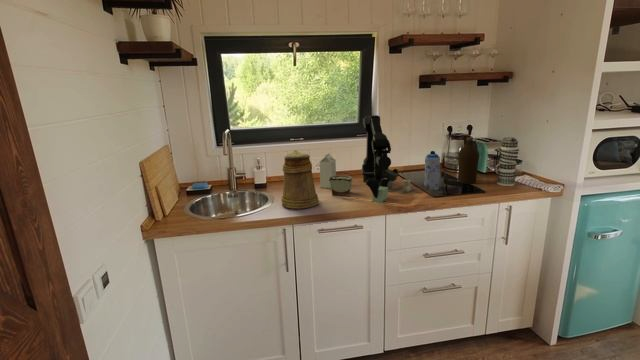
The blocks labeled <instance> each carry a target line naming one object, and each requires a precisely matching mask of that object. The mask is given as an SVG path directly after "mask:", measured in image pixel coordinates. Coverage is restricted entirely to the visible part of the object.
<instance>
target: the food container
mask: <svg viewBox="0 0 640 360" xmlns="http://www.w3.org/2000/svg"><path fill="white" fill-rule="evenodd" d="M329 181H330V184H331V188H330V191H331V196H332V197H340V198H341V197H342V198H351V186H352V182H353V179H352V176H350V175H345V174H342V175H341V174H336V176H331V177H330V178H329Z"/></svg>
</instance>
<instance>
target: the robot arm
mask: <svg viewBox="0 0 640 360" xmlns="http://www.w3.org/2000/svg"><path fill="white" fill-rule="evenodd" d="M362 124H363V125H362V126H363V127H364V129H365V130H366V151H365V152H366V153H365V154H366V155H365V158H364V159H363V164H362V165H361V175H362V176H363V177H362V178H363V180H362V181H363V183H365V185H366V186H368V188H369V189H370V191H371V193H373V195H374V197H375V198H377V197H378V190H379V187H380V186H381V187H387V185H388V182H389V181H392V182H395V181H397V179H398V177H399V176H400V173H399V169H398V168H394V169H389V167H391V165H392V159H391V158H390V157H389V156H388V154H391V151H392V146H391V142H390V141H389V139H388V136H387V135H386V134H385V133H383V129H382V125H381V116H380V115H378V114H375V115H374V114H373V115H372V114H371V115H366V116H365V117H363V118H362Z"/></svg>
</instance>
